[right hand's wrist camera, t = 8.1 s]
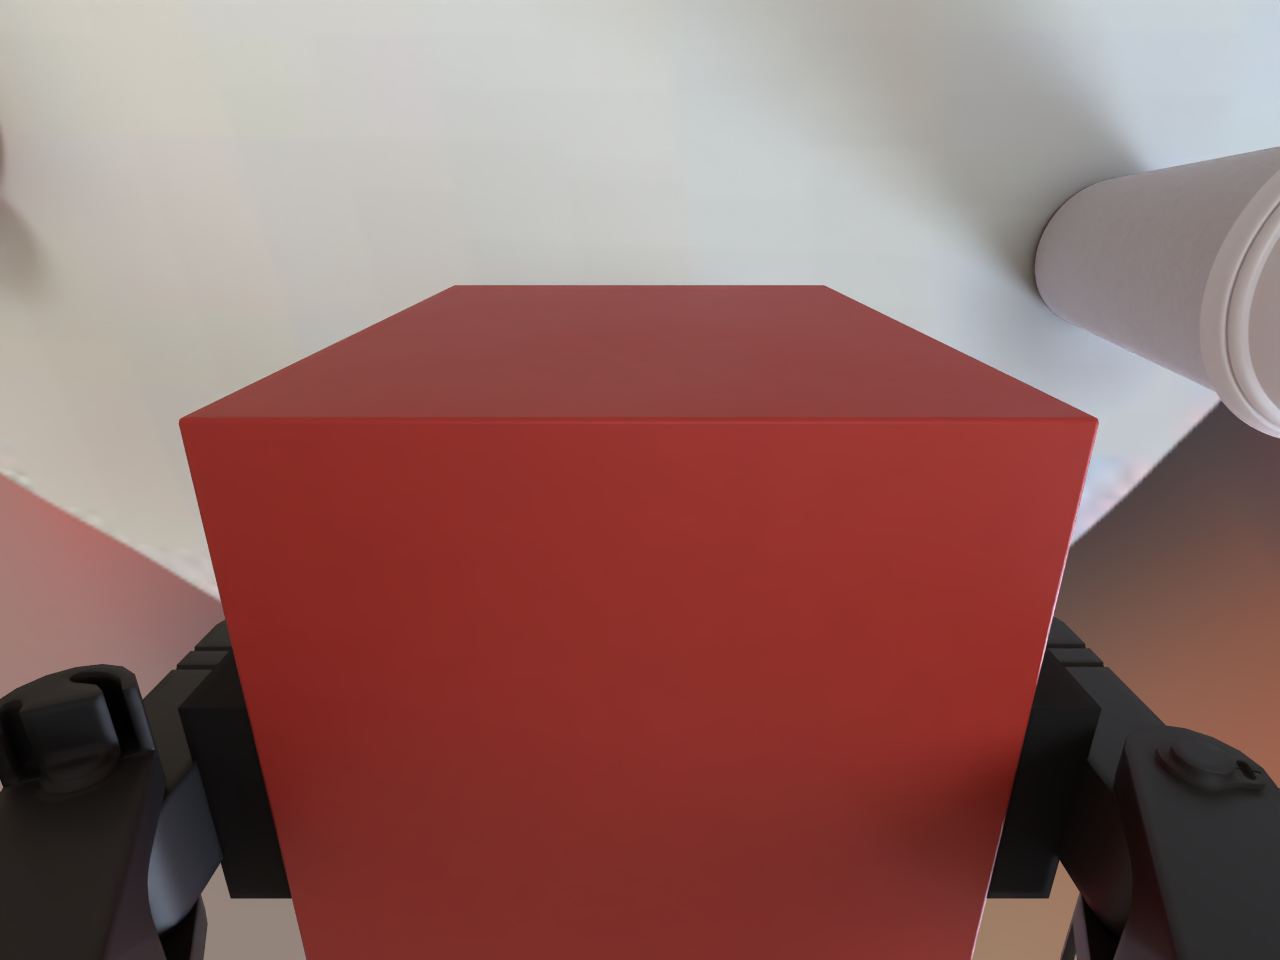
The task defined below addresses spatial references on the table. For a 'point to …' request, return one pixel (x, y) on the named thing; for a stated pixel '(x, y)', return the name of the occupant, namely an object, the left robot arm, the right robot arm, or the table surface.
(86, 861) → the right robot arm
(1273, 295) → the coffee cup
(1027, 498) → the brick
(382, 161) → the table surface
